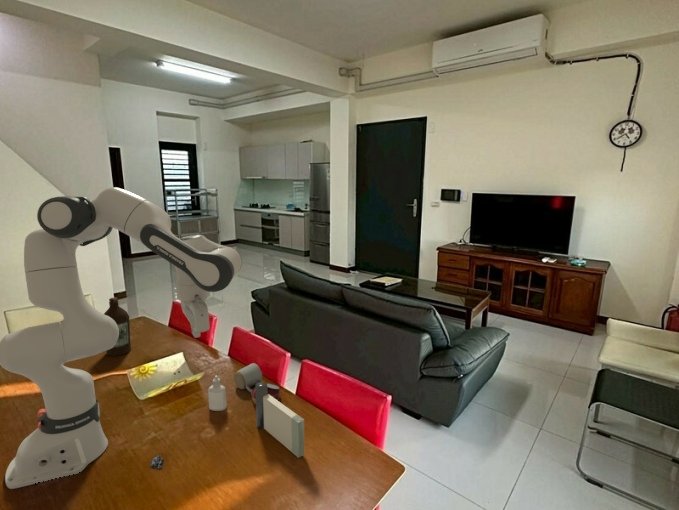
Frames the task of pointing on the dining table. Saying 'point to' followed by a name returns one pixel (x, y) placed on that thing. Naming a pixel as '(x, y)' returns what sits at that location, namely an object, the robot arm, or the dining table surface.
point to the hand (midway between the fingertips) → (196, 335)
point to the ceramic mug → (248, 376)
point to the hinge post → (260, 403)
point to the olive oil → (123, 325)
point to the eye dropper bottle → (217, 396)
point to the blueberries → (157, 462)
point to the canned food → (271, 390)
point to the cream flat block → (284, 425)
